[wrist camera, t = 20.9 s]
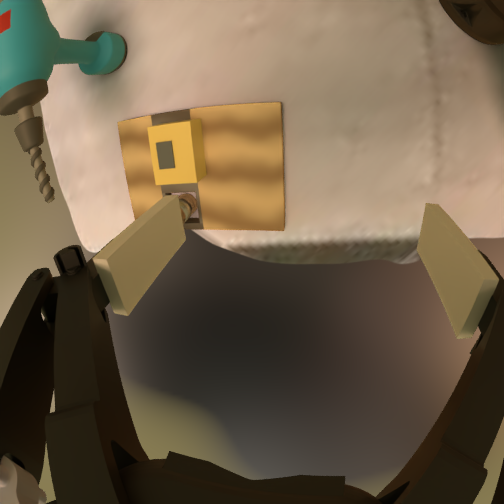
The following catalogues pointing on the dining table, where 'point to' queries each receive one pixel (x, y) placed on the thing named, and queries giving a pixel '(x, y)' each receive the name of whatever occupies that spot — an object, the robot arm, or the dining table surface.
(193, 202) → the brass cylinder rod
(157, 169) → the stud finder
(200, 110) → the subfloor panel
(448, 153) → the dining table surface
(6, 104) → the power drill
